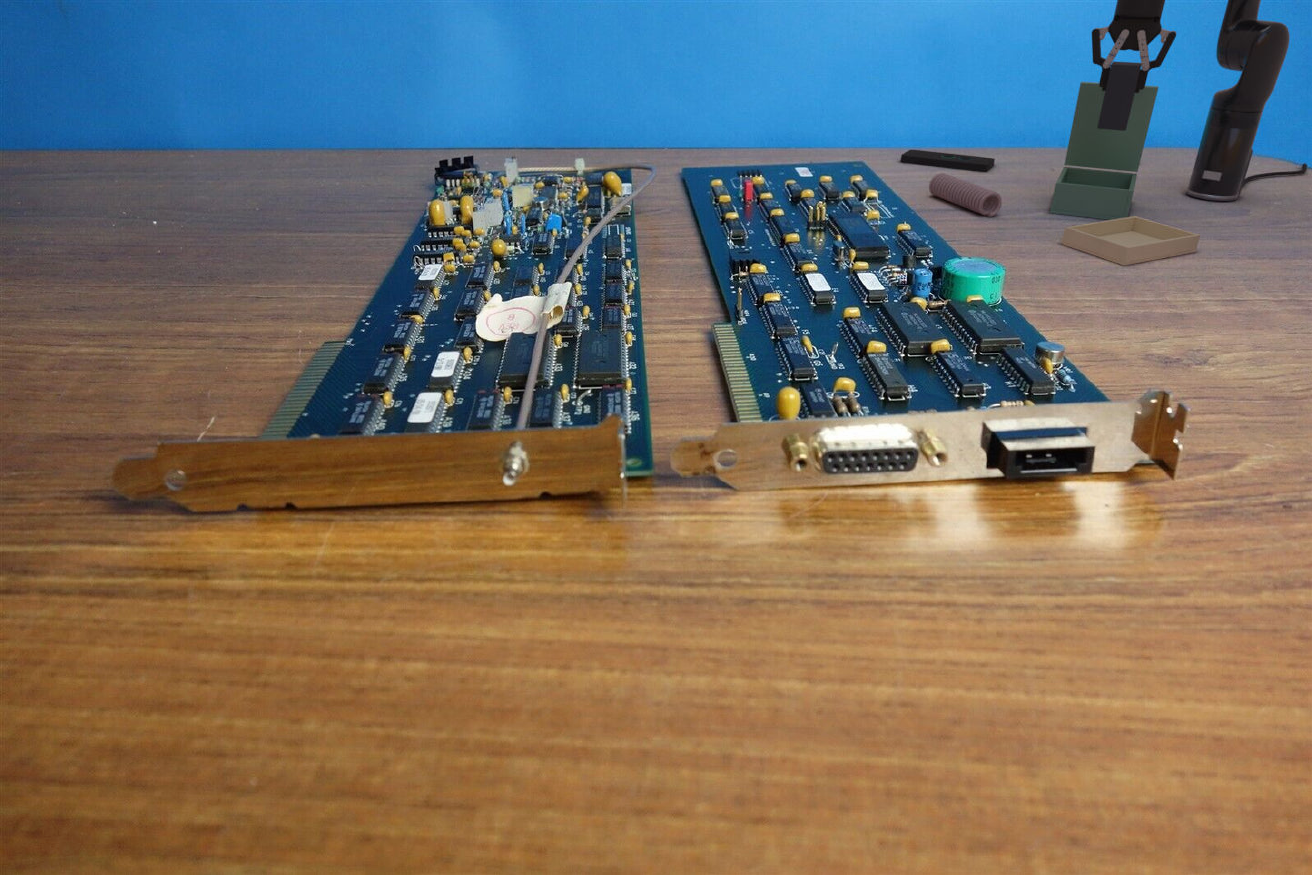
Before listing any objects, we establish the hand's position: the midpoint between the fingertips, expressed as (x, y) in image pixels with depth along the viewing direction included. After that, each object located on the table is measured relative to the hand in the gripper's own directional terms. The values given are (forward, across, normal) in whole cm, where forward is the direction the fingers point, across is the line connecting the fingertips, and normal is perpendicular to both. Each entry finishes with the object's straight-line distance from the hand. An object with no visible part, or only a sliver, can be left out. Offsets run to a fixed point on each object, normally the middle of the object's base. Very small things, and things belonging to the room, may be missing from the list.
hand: (1120, 91), depth 169 cm
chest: (+23, +1, -6) cm, 23 cm away
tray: (+23, -7, +20) cm, 31 cm away
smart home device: (+23, +34, -33) cm, 53 cm away
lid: (+8, +1, -12) cm, 15 cm away
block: (+6, 0, 0) cm, 6 cm away
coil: (+23, +24, +4) cm, 33 cm away
